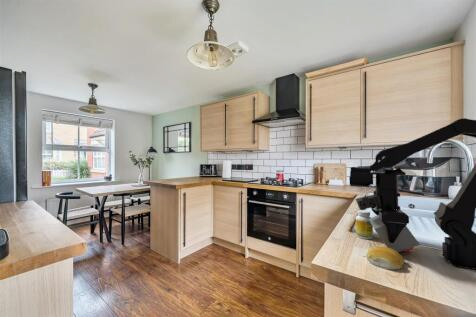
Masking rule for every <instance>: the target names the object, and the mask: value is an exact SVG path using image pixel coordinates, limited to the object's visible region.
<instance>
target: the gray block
mask: <svg viewBox="0 0 476 317" xmlns="http://www.w3.org/2000/svg"><path fill="white" fill-rule="evenodd" d="M369 221H370V222H371V224H372V226H373V230H374V231H375V233H376V234H377V235H378V236H379V238H380V239H381V241H382V242H383V243H384V245H385V247H388V248H391V249H393V250H395V251H397V252H398V253H400V252H404V250H407V249H410V248H413V247H414V248H415V247H418V246H421V244H420V243H419V241H418V239H417V238H416V237H415V236H414V235H413V233H412V231H411V230H410V229H409V228H408V226H407V225H406V226H405V227H404V228H403V230H402V231H401V232H400V234H399V236H398V237H397V239H396V240H395V242H394V243H390V242H389V240H388V235H387V230H386V225H385V224H384V223H383V222H382V221H381V220H380V217H379V215H375V216H372V217H371V218H370V219H369Z"/></svg>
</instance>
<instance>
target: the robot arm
mask: <svg viewBox="0 0 476 317" xmlns="http://www.w3.org/2000/svg"><path fill="white" fill-rule="evenodd" d="M461 135H462V136H466V137H471V138H476V119H471V118H466V117H465V118H458V119H456V120H454V121H452V122H450V124H448V125H446V126H443V127H441V128H438V129H435V130H433V131H432V132H430V133H426V134H425V135H422V136H420V137H418V138H416V139H414V140H411V141H409V142H406V143H402V144H400V145H397V146H391V147H389V148H386V149H383V150H380V151H379V152H377V153H376V155H375V161H374V162H373V163H372V164H370V165H369V167H357V166H351V167H350V172H349V174H350V175H349V187H356V188H370V186H371V185H374V175H375V190H373V194H370V195H366V196H361V197H358V198H356V199H355V201H356V204H357V206H358V209H359V210H367V209H371V211H372V212H373V213H374V214H375V216H377V215H379V217H380V220H381V221H382V222H383V223H384V224H385V225H386V230H387V235H388V240H389V242H390V243H394V242H395V240H396V239H397V237H398V236H399V234H400V232H401V231H402V230H403V228H404V227H405V226H407V225H408V224H410V216H409V215H408V214H406V213H405V212H404V211H403V210H401V206H400V205H399V197H401V193H400V192H399V176H406V172H405V171H403V169H401V167H399V166H397V167H396V168H395V169H389V168H393V167H395V166H396V165H398V164H400V163H401V162H403V161H404V160H406V159H408V158H410V157H411V156H413V155H414V154H417V153H419V152H421V151H423V150H426V149H428V148H431V147H433V146H436V145H438V144H441V143H443V142H445V141H448V140H451V139H453V138H454V137H457V136H461ZM383 168H384V169H383ZM381 169H383V171H382V172H381V171H380V172H379V170H381ZM377 171H378V172H377ZM469 172H470V173H469V174H468V175H467V177H466V178H465V180H464V182H463V183H462V185H461V187H460V189H459V190H458V191H457V193H456V195H455V196H454V198H453V199H452V200H451V201H450V202H449V203H447V204H446V203H444V202H440V203H439V204H438V208H437V210H436V211H434V212H433V215H434V221H435V224H436V225H437V227H439V228H440V230H441V231H442V232H443V233H444V234H446V235H448V236H444V242H442V243H441V244H442V254H441V256H442V257H443V258H444V259H445V260H446V261H447V262H448V263H450V264H451V265H452V266H453V267H456V268H457V267H458V268H464V269H470V270H476V232H475V231H474V230H472V229H473V226H474V224H475V218H476V163H474V166H473V167H472V168H471V170H470V171H469Z"/></svg>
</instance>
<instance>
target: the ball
mask: <svg viewBox="0 0 476 317" xmlns="http://www.w3.org/2000/svg"><path fill="white" fill-rule="evenodd" d="M414 248H415V247H413V248H410V249H407V250H404V251H403V252H405V253H408V252H412V251H413V250H414Z"/></svg>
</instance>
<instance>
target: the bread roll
mask: <svg viewBox="0 0 476 317" xmlns="http://www.w3.org/2000/svg"><path fill="white" fill-rule="evenodd" d="M365 257H366V260H367V261H368V262H369V263H370V264H372V265H373V266H376V267H379V268H381V269H386V270H387V271H388V270H389V271H391V270H392V271H395V270H400V269H401V268H402V267H403V265H404V263H405V259H404V258H403V256H402V255H401V254H400V252H397V251H395V250H393V249H391V248H388V247H387V246H375V247H374V246H373V247H372V248H370V249H369V250H368V251H367V252H366V255H365Z"/></svg>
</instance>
